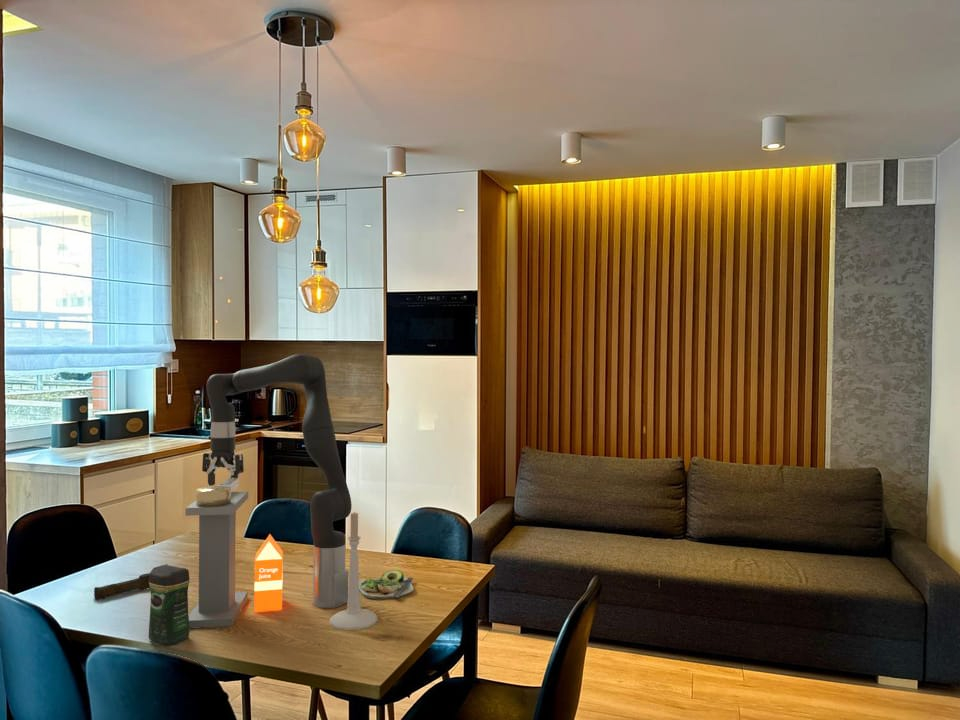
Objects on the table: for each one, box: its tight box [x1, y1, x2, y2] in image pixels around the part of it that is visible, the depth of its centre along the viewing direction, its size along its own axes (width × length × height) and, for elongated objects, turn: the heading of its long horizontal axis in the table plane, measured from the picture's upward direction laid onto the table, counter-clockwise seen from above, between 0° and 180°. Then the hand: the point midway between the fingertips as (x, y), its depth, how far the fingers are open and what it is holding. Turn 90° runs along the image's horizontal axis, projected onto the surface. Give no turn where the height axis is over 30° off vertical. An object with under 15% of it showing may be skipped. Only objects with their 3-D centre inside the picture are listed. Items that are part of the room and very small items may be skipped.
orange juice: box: [253, 533, 284, 613], centre depth 200 cm, size 8×9×20 cm
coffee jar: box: [148, 564, 191, 646], centre depth 175 cm, size 10×8×19 cm
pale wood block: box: [195, 476, 240, 507], centre depth 199 cm, size 30×9×4 cm, turn 8°
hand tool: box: [93, 572, 150, 601], centre depth 210 cm, size 19×4×5 cm, turn 136°
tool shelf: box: [185, 491, 249, 629], centre depth 194 cm, size 22×12×32 cm, turn 8°
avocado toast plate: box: [359, 569, 415, 600], centre depth 213 cm, size 19×18×5 cm
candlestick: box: [329, 511, 378, 631], centre depth 188 cm, size 13×13×30 cm
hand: (222, 485), depth 221 cm, fingers open, 8 cm apart
